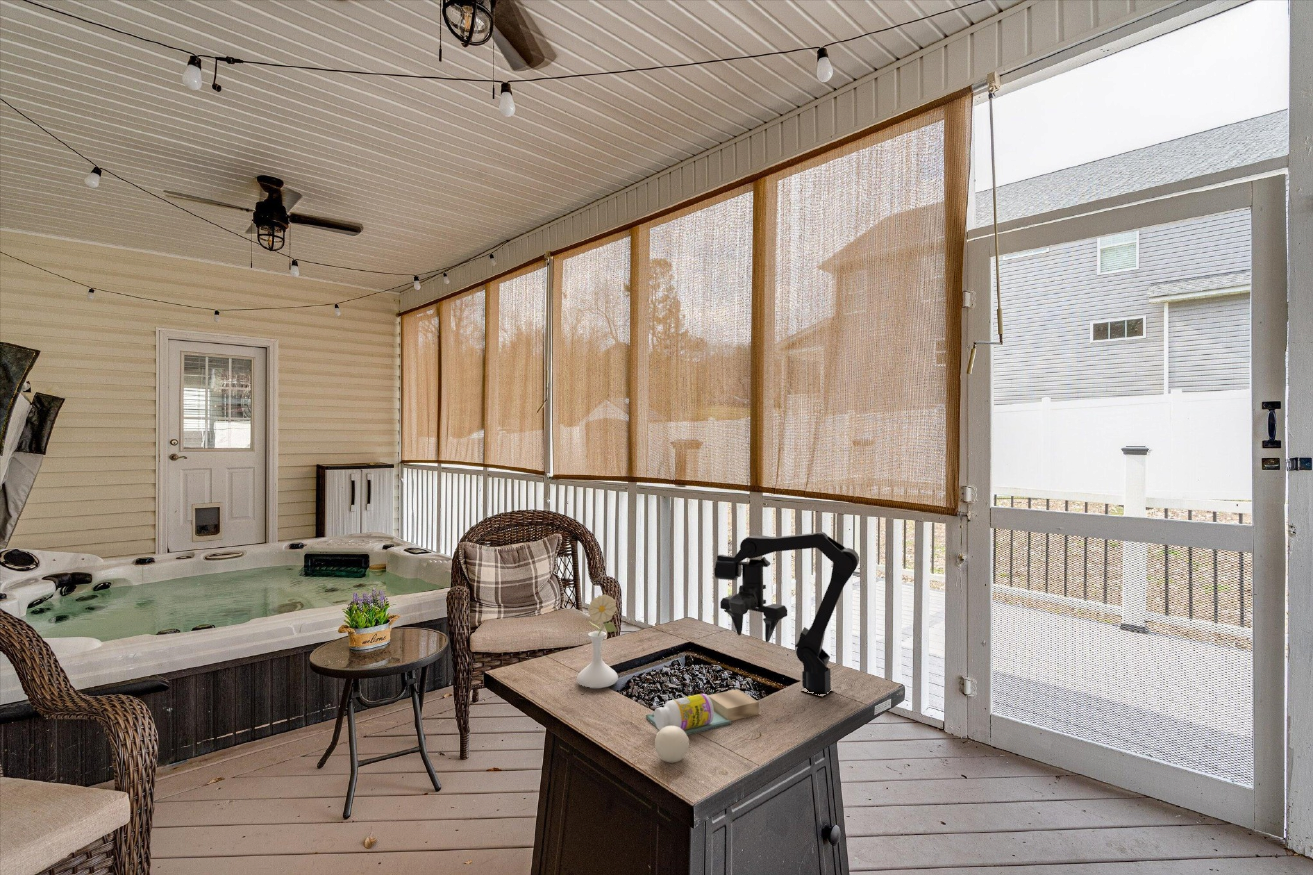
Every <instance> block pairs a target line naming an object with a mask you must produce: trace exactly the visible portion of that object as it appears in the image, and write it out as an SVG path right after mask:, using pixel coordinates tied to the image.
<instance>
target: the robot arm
mask: <svg viewBox="0 0 1313 875" xmlns="http://www.w3.org/2000/svg"><path fill="white" fill-rule="evenodd" d="M806 549H818V550H819V552H821V553H822V554H823V555H824V556H825V557H826V558H827V559H829V560H830V561H831V562H832V563H833V564H832V569H831V575H830V580H829V583H828V586H827V587H826V590H825V593H824V595H823V597H822V600H821V603H820V604H819V607H818V610H817V611H816V614H815V616H814V618H813V620H812V624H811V626H810V628H809V629H808V627H807V628H806V626H804V627H803V629H802V630H801V632H800V635H799V639H798V641H796V644H795V648H796V649H795V650H796V651H795V654H796V657H797V659H798V660H799V662H801V663H802V665H803V666H802V667H803V671H801V677H802V679H801V680H802V684H801V686H802V688H806V689H807V690H808V691H809V692H814V693H813V694H817V695H818V694H819V695H820V694H827V692H829V691H830V690H831V688H832V686H831V685H832V684H831V683H832V682H831V679H832V677H831V674H832V672H831V668H829V667H828V664H829V663H830V659H831V656H830V655H829V654H828V653H827V651H826V650H825V649H823V645H824V639H825V634H826V630H827V627H828V625H829V623H830V620H831V618H832V616H833V613H834V612H835V608H836V606H837V604H838V601H839V599H840V596H841V594H842V592H843V589H844V587H845V586H846V584H847V582H848V581H849V580H850V578H851V577H852V576H853V574H854V572H855V571H856V569H857V567H858V565H859V564H860V555H859V554H858V552H857V551H856V550H854V549H853V548H850V547H845V546H844V545H842V544H841V543H840V542H838V541H836V540H835V539H834V538H832V537H830V536H829V535H828V534H827V533H826V532H824V531H817V532H812V533H801V534H793V535H784V536H768V535H760V534H759V535H757V534H753V535H750V536H747V537H744V539H743V540H742V541H741V542H740V545H739V549H738V550H739V551H738V552H737V553H736V554H735V555H726V554H718V555H716V561H715V567H714V571H713V572H714V577H715V579H716V580H725V581H726V580H727V581H738V578H741V577H742V579H741V580H742V581H741V583H742V584H741V585H739V588H738V593H736V594H735V595H730V596H726V597H723V598H721V600H720V605H719V606H720V607H719V609H723V610H724V611H723V612H725V613H726V614H727V615H729V616H730V618H731V620H732V622H733V625H734V628H735V630H736V634H737V636H738V637H739V636H741V635H742V632H743V625H744V624H743V623H744V622H743V621H744V615H747V613H748V612H749V611H753V612H758V613H763V616H764V617H763V618H762V621H763V622H764V624H765V625H764V626H765V627H764V636H765V637H764V639H765V643H769V642H770V640H771V638H772V636H773V634H774V631H775V629H776V626H777V624H778V623H779V621H780V620H783V619H784V618H785V617H788V609H787V607H786V605H783V604H779V603H772V604H769V605H766V604H767V600H766V599H764V590H765V589H767V585H766V584H764V568H768V567H769V566H770V565H771V562H770V561H769V560H768V559H767V558H766V557H765V556H766V555H768V554H772V553H777V552H786V551H798V550H806ZM762 556H763V557H762ZM759 557H761V559H757V558H759ZM745 559H749V561H745ZM808 691H807V692H808Z"/></svg>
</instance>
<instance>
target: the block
mask: <svg viewBox="0 0 1313 875" xmlns="http://www.w3.org/2000/svg"><path fill="white" fill-rule="evenodd" d="M706 695H707V696H708V697H709V698H710V699H711V701H712V704H713V708H714V712H716V713H717V714H719V715H720V716H722V717H723V718H724V719H726V720H730V722H733V721H735V720H736V721H737V720H740V719H744V718H749V717H752V716H758V715H760V710H759V709H760V708H759V707H760V701H758V700H756V699H755V698H753V697H752V696H750V695H748V694H746V693H745V692H743V691H742V690H740V689H738V688H737V689H732V690H727V691H723V692H718V693H713V694H706Z"/></svg>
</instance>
